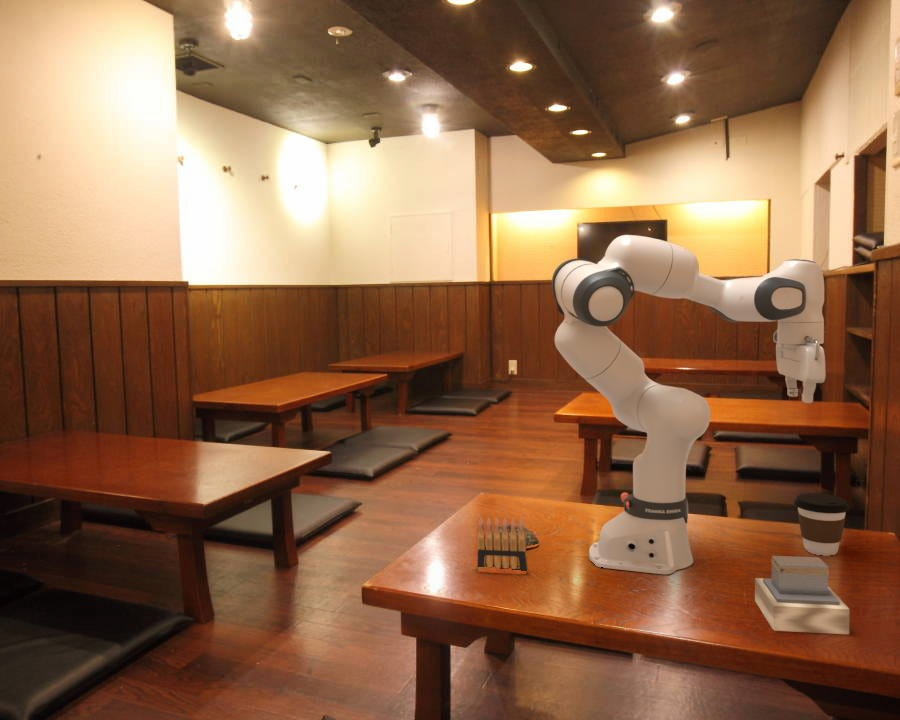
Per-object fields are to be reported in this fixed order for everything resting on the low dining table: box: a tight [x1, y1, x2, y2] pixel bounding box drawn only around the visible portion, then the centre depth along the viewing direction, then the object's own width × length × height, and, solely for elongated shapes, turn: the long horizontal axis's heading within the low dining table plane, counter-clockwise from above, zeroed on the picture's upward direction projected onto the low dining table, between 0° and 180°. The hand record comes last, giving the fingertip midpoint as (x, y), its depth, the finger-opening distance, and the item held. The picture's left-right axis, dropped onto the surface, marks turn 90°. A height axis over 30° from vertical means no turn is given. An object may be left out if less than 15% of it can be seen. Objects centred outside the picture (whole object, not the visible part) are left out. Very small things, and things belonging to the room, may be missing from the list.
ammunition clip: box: [476, 516, 528, 571], centre depth 146 cm, size 11×2×12 cm, turn 79°
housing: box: [770, 555, 830, 596], centre depth 121 cm, size 4×8×5 cm, turn 80°
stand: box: [754, 577, 850, 635], centre depth 121 cm, size 12×12×5 cm
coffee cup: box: [794, 492, 850, 557], centre depth 152 cm, size 11×11×12 cm
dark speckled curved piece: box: [485, 523, 540, 548], centre depth 163 cm, size 13×12×5 cm
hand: (799, 399), depth 147 cm, fingers open, 8 cm apart
